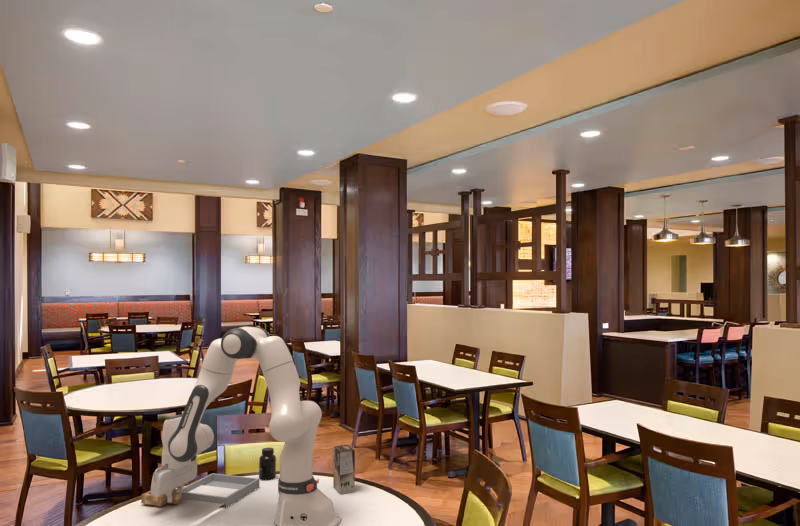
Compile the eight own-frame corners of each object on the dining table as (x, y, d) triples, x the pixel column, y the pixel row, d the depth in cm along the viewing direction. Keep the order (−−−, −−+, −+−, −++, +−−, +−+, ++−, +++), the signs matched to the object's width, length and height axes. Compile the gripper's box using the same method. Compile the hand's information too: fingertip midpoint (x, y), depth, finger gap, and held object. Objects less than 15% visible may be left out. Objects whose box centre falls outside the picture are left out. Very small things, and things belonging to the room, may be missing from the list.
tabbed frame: (186, 498, 201) (187, 490, 201) (170, 507, 192) (170, 498, 193) (158, 494, 204) (158, 486, 205) (141, 503, 196) (141, 494, 196)
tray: (259, 487, 218) (259, 478, 219) (226, 508, 198) (226, 498, 198) (212, 481, 225) (212, 473, 225) (175, 501, 204) (175, 491, 204)
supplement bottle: (255, 479, 228) (256, 450, 228) (264, 474, 234) (264, 446, 235) (270, 481, 226) (270, 451, 226) (278, 476, 232) (279, 447, 233)
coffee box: (355, 492, 213) (355, 450, 214) (339, 494, 211) (340, 452, 212) (347, 484, 222) (347, 444, 223) (332, 487, 219) (332, 446, 220)
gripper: (161, 470, 187) (160, 511, 186) (200, 453, 207) (199, 491, 206) (146, 468, 189) (145, 509, 188) (186, 452, 209) (185, 489, 208)
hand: (174, 499), depth 197 cm, fingers closed on tabbed frame, 2 cm apart
